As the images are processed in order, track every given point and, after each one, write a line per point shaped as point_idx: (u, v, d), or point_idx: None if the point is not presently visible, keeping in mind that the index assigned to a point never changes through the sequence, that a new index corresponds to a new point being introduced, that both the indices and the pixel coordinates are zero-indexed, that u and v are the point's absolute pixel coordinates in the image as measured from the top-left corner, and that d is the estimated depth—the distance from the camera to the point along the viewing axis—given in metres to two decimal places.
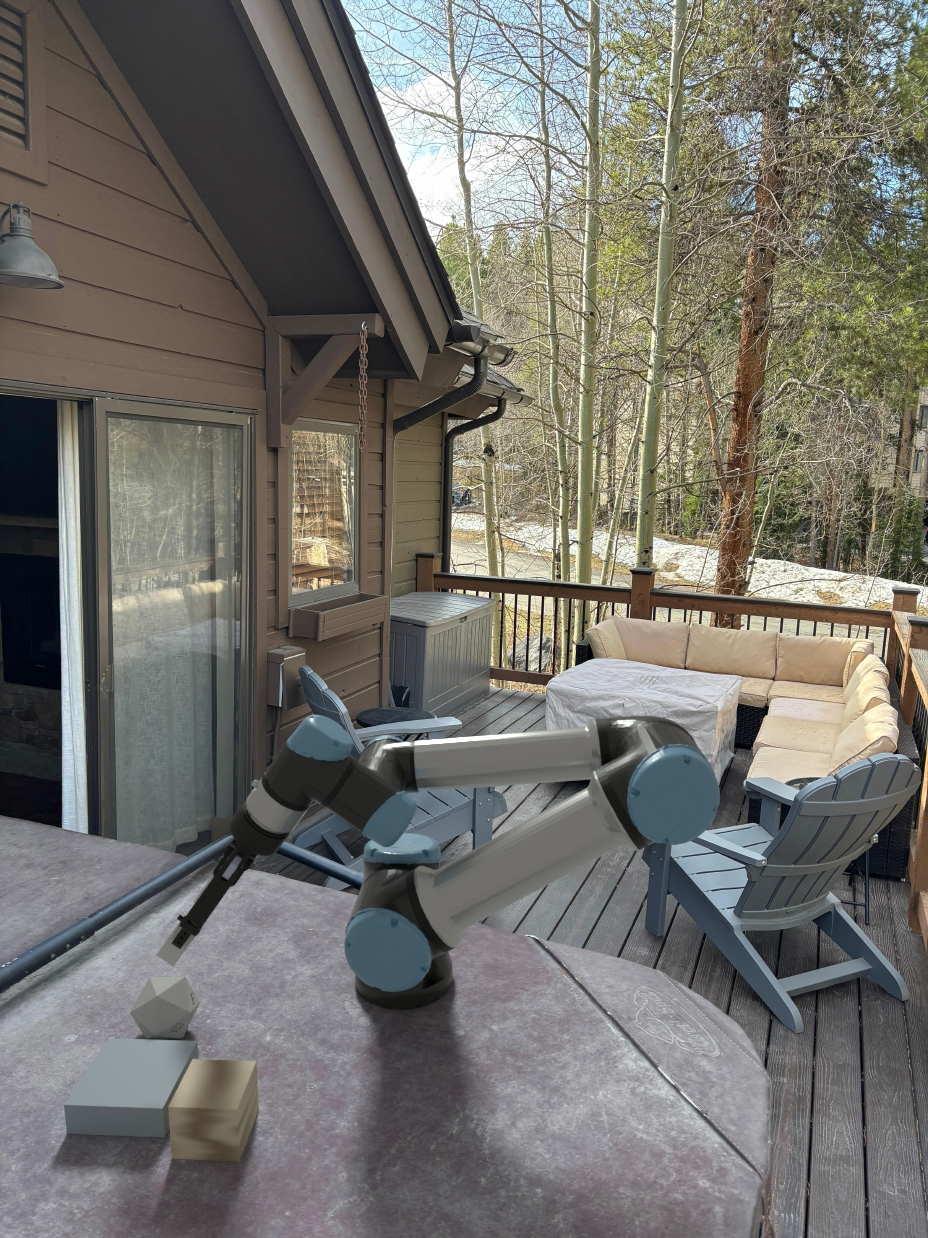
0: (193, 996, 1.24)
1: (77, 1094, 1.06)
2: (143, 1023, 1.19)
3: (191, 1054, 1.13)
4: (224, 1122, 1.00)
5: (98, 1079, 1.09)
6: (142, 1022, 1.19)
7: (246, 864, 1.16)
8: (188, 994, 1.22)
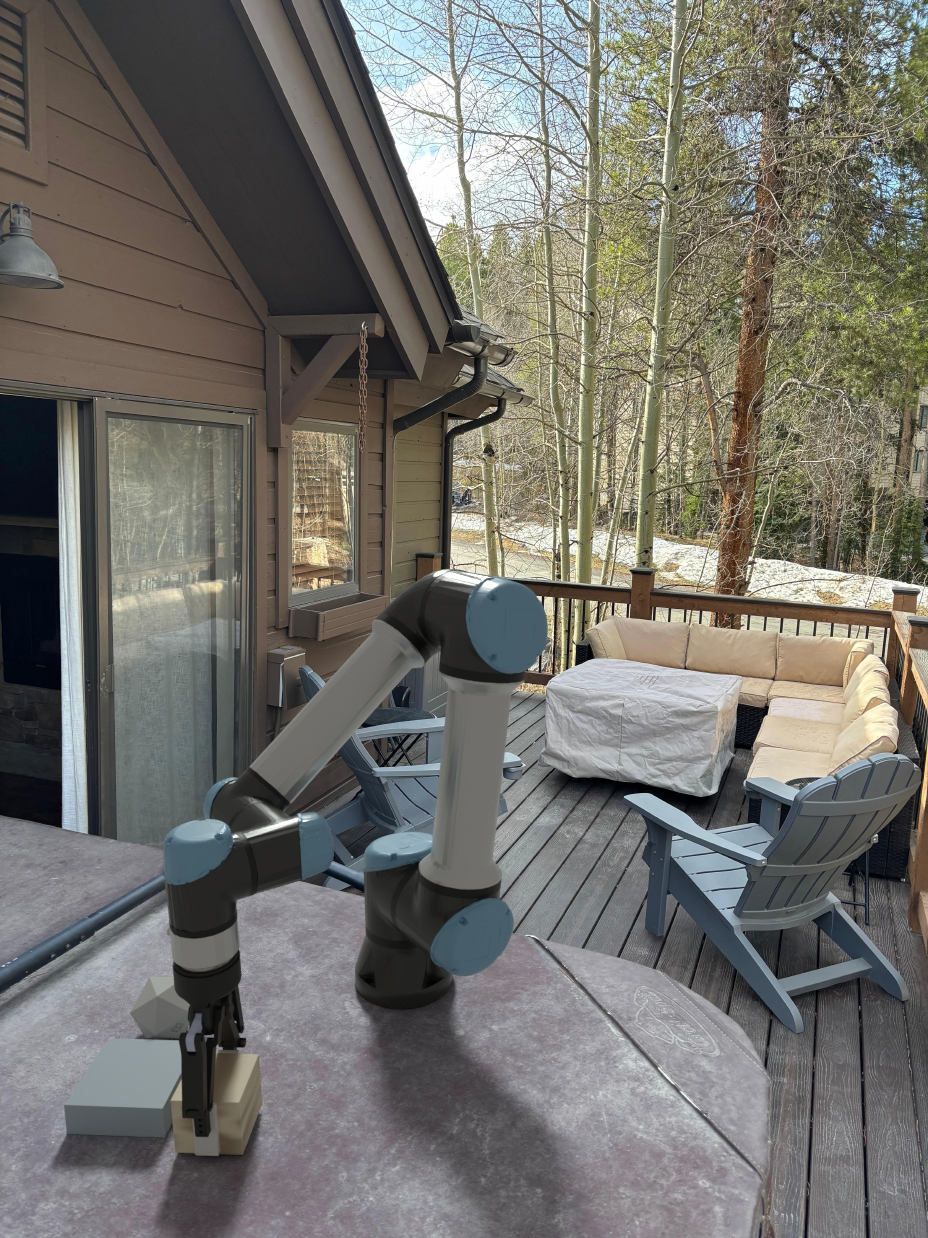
0: None
1: (77, 1094, 1.06)
2: (143, 1023, 1.19)
3: None
4: (226, 1115, 1.00)
5: (98, 1079, 1.09)
6: (142, 1022, 1.19)
7: (216, 1016, 1.00)
8: None
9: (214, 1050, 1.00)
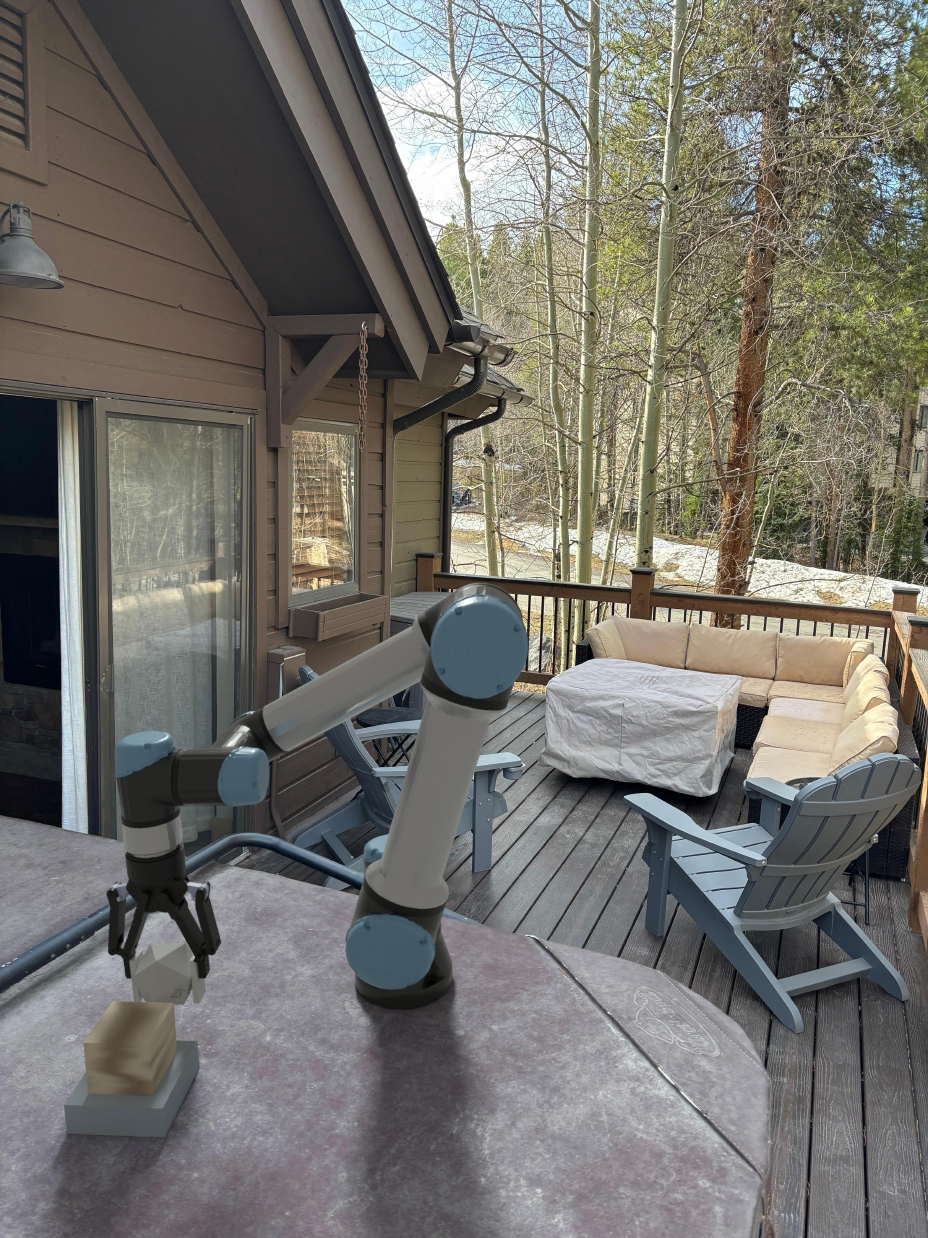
0: None
1: (77, 1094, 1.06)
2: (143, 989, 1.19)
3: (191, 1054, 1.13)
4: (137, 1057, 1.05)
5: None
6: (142, 988, 1.19)
7: (140, 896, 1.18)
8: (188, 960, 1.21)
9: (137, 920, 1.19)
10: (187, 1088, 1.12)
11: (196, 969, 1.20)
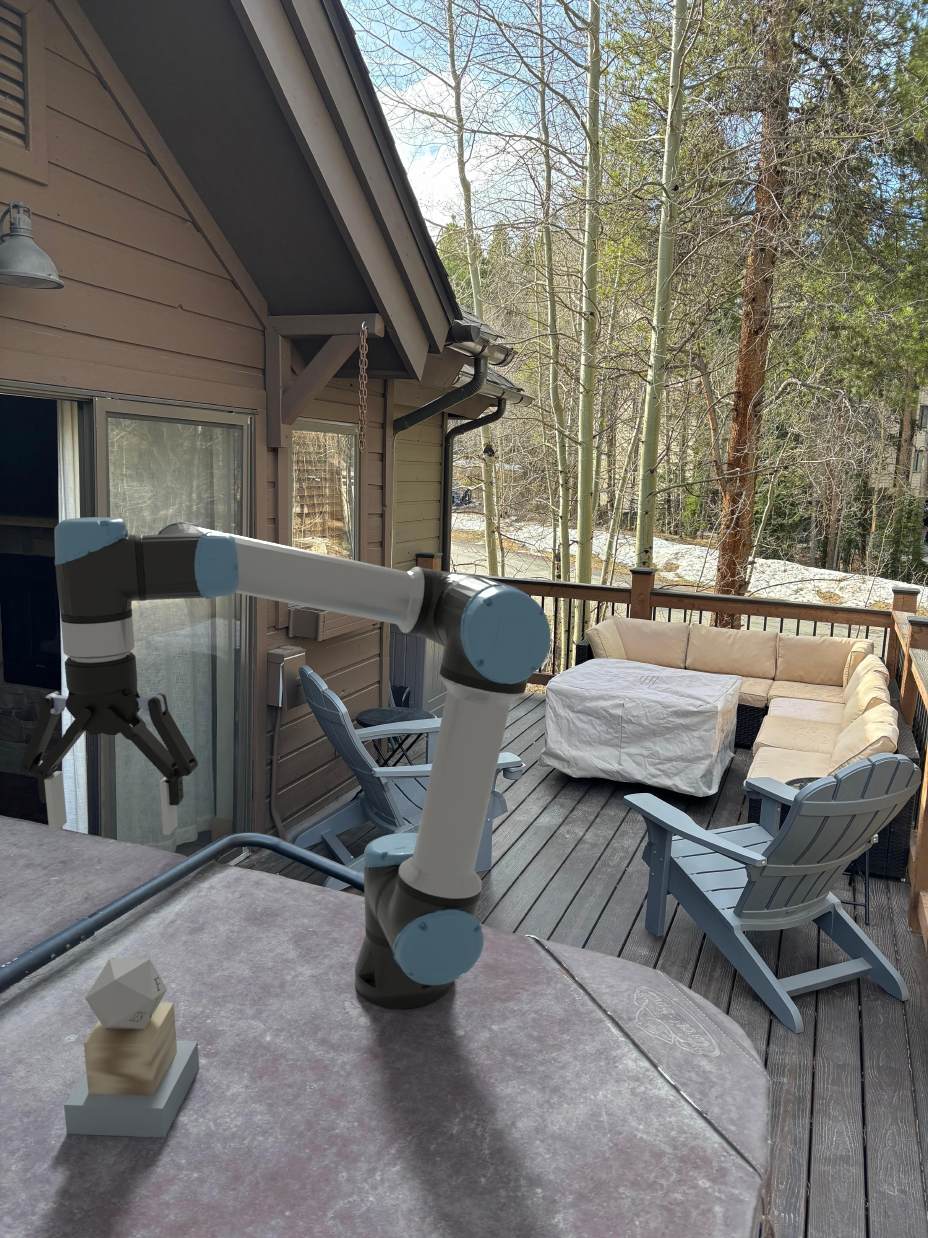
0: (158, 981, 1.09)
1: (77, 1094, 1.06)
2: (99, 1011, 1.04)
3: (191, 1054, 1.13)
4: (137, 1056, 1.05)
5: None
6: (98, 1009, 1.05)
7: None
8: (152, 979, 1.07)
9: (68, 737, 1.00)
10: (187, 1088, 1.12)
11: (167, 792, 1.01)
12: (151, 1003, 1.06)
